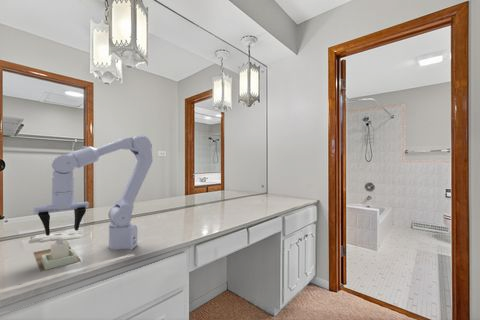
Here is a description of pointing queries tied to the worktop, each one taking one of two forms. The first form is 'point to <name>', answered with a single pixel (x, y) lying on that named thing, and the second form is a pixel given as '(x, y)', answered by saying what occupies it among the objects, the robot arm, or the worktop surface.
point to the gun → (56, 237)
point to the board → (39, 254)
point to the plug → (59, 249)
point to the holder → (59, 260)
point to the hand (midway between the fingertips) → (62, 232)
